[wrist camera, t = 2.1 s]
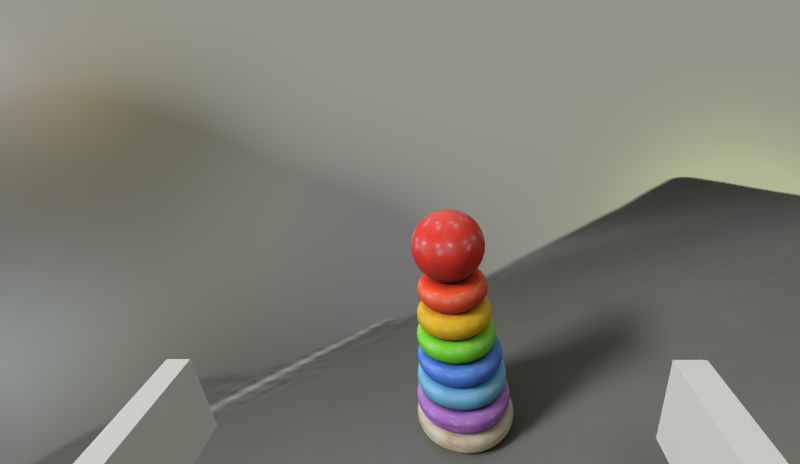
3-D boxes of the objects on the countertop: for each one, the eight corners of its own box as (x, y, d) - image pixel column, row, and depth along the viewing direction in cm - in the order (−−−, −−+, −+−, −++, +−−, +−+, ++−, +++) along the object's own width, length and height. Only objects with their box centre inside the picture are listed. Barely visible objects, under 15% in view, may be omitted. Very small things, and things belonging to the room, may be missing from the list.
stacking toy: (509, 382, 38) (507, 189, 30) (517, 462, 31) (518, 238, 23) (424, 379, 39) (401, 195, 32) (413, 455, 32) (380, 243, 24)
